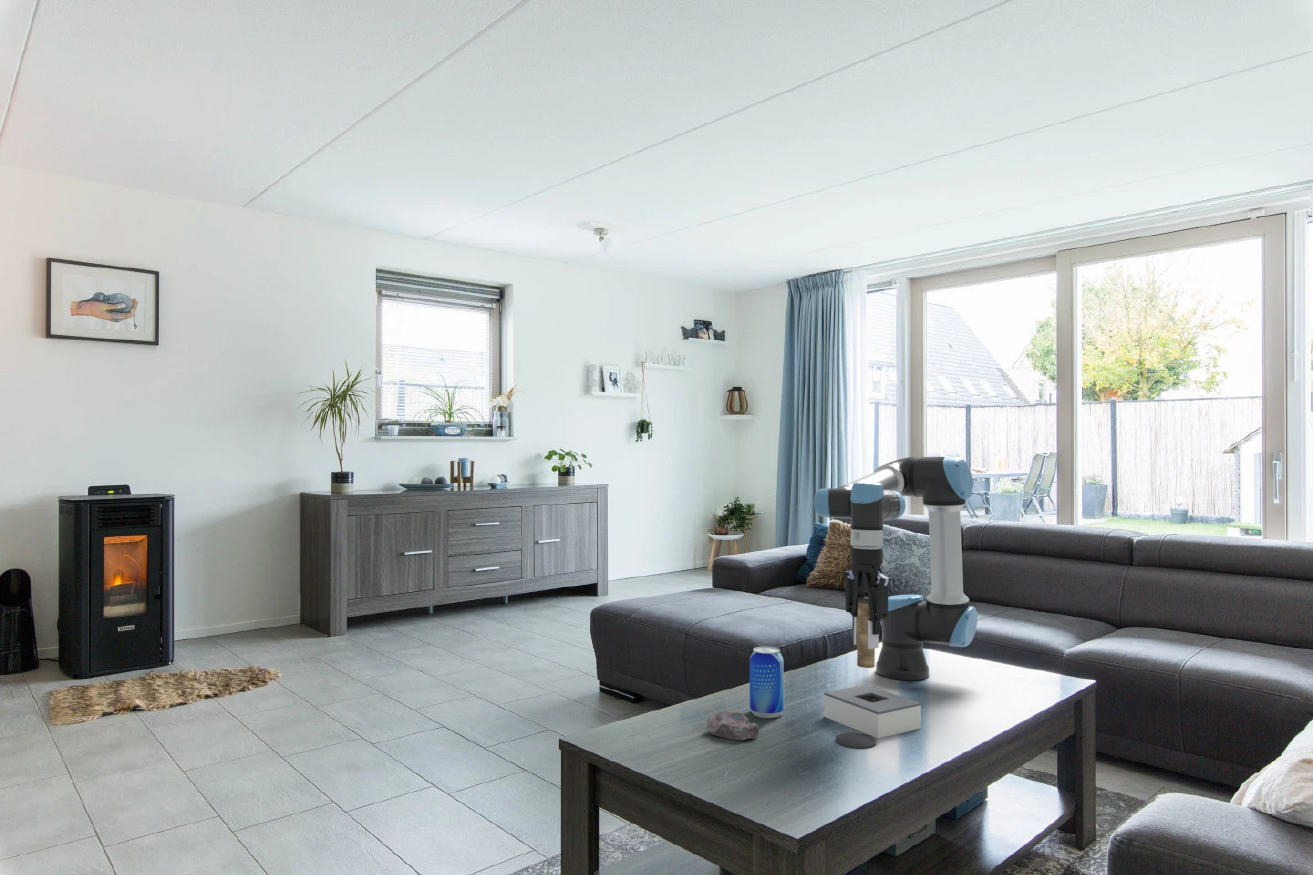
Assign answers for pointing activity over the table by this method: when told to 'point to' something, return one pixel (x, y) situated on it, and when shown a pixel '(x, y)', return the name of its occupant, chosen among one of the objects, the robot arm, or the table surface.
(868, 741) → the pad
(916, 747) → the table surface
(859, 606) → the stylus
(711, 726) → the rock
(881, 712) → the box
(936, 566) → the robot arm
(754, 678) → the beer can
